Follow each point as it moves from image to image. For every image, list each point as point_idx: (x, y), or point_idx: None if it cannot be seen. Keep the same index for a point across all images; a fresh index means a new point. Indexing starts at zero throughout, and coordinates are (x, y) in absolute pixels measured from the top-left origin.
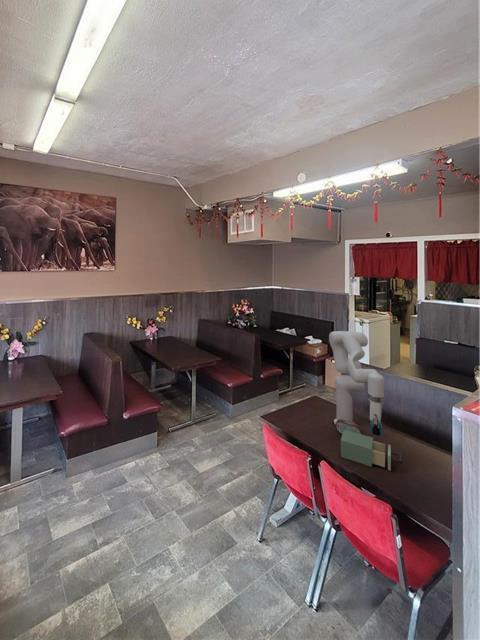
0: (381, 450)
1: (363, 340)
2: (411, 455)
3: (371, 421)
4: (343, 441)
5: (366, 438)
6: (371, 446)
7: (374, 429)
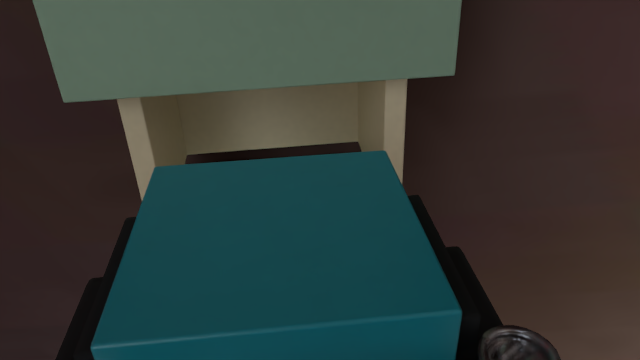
0: (366, 131)
1: None
2: (542, 275)
3: (335, 335)
4: None
5: None
6: (151, 88)
7: (65, 353)
